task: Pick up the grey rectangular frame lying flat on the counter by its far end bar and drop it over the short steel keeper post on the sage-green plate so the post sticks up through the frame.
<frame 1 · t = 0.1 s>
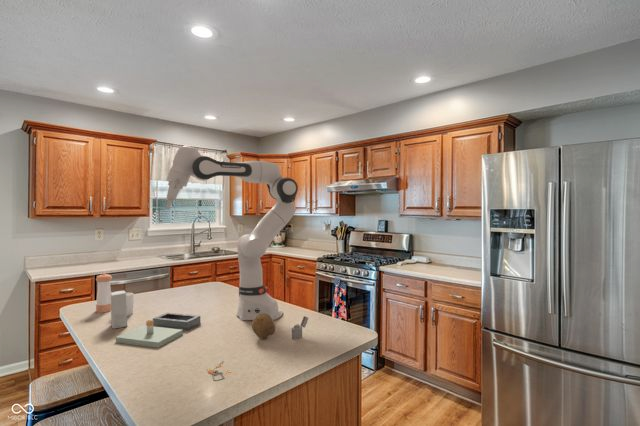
hand: (167, 209, 153), 52 cm above the counter, tool tilted 20°, fingers open, 8 cm apart
skincare box: (119, 325, 155), on the counter
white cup: (124, 315, 170), on the counter
pepper shaker: (104, 310, 177), on the counter
grey rectangular frame: (176, 325, 154), on the counter
natural sponge: (263, 338, 138), on the counter
lighter: (300, 337, 139), on the counter
key chain: (218, 372, 111), on the counter
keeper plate: (150, 338, 139), on the counter
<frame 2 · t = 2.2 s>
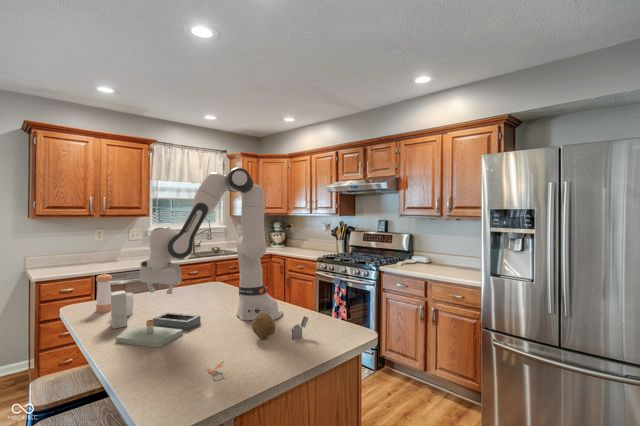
hand: (160, 293, 156), 14 cm above the counter, tool pointing down, fingers open, 8 cm apart
nothing on the counter moved.
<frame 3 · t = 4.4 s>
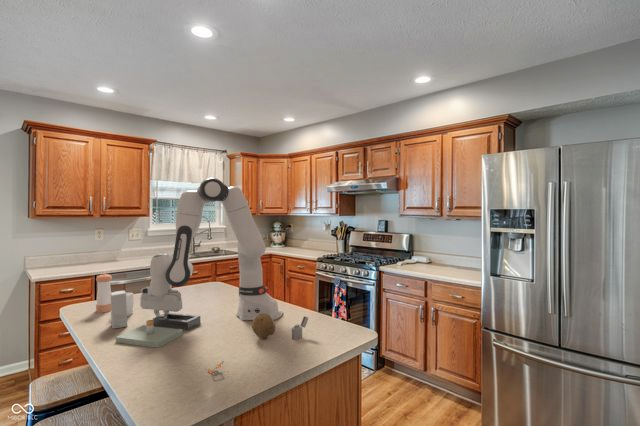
hand: (161, 319, 157), 2 cm above the counter, tool pointing down, fingers closed on grey rectangular frame, 2 cm apart
grey rectangular frame: (176, 325, 154), on the counter, touching gripper
everything else where it was.
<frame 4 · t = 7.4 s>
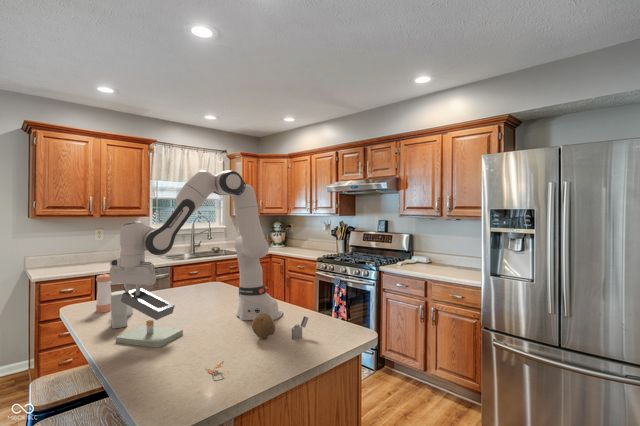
hand: (133, 294, 141), 17 cm above the counter, tool pointing down, fingers closed on grey rectangular frame, 2 cm apart
grey rectangular frame: (147, 307, 139), point 12 cm above the counter, tilted 20°, touching gripper
everything else where it was.
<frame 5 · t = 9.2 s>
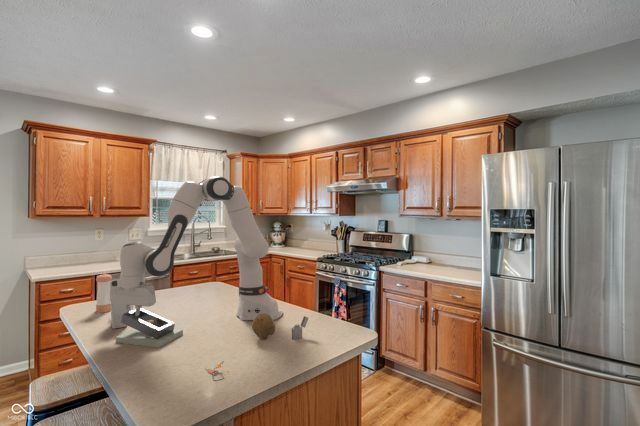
hand: (132, 315, 141), 9 cm above the counter, tool pointing down, fingers closed on grey rectangular frame, 2 cm apart
grey rectangular frame: (147, 326, 139), point 5 cm above the counter, tilted 16°, touching gripper
everything else where it was.
when the fingers open (5 cm above the counter, at t = 10.7 s): grey rectangular frame stays where it is, resting on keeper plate.
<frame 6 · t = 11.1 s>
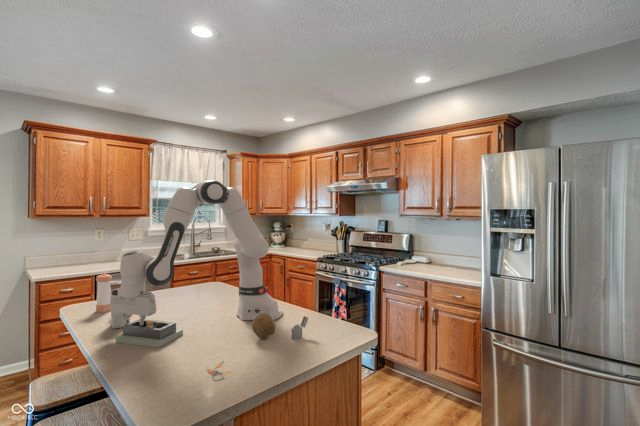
hand: (133, 324, 141), 5 cm above the counter, tool pointing down, fingers open, 6 cm apart
grey rectangular frame: (149, 333, 139), point 2 cm above the counter, touching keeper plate
everything else where it was.
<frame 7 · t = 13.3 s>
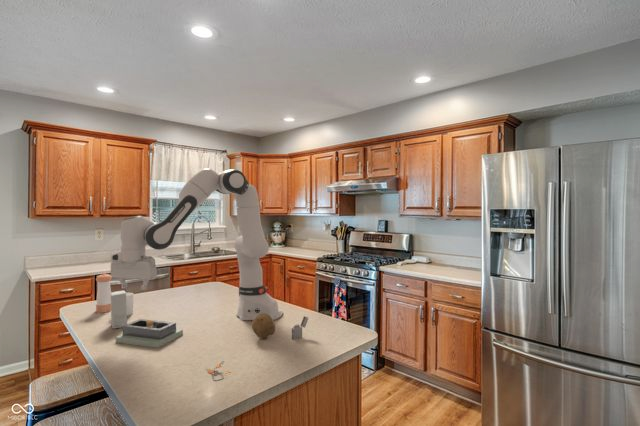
hand: (134, 289, 142), 19 cm above the counter, tool pointing down, fingers open, 8 cm apart
nothing on the counter moved.
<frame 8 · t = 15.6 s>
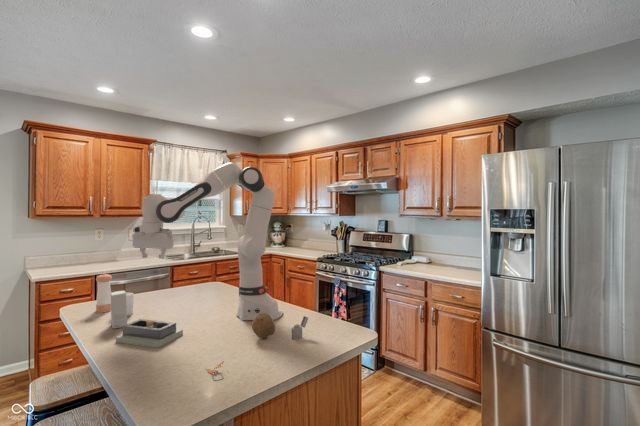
hand: (153, 258, 161), 29 cm above the counter, tool pointing down, fingers open, 8 cm apart
nothing on the counter moved.
at the end: grey rectangular frame 0.2 cm off-centre on the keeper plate, point 2.0 cm above the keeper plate's base; grey rectangular frame tilted 0°; the gripper is holding nothing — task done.
